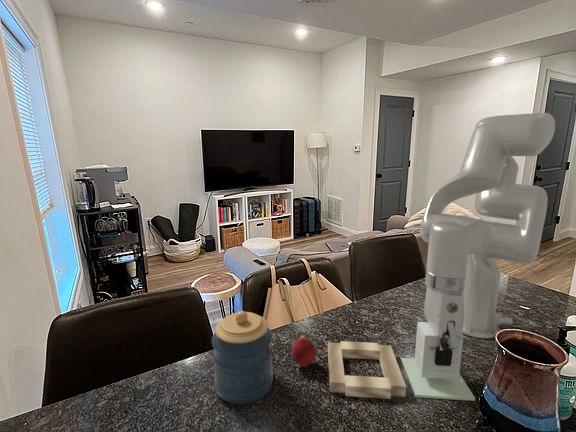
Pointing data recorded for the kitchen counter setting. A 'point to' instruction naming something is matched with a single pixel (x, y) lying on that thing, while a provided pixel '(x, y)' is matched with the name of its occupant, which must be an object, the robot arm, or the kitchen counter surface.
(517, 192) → the robot arm
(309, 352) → the red round piece
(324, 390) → the kitchen counter surface
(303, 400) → the kitchen counter surface
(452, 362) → the small box
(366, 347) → the wooden square frame
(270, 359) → the canister
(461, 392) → the pad
